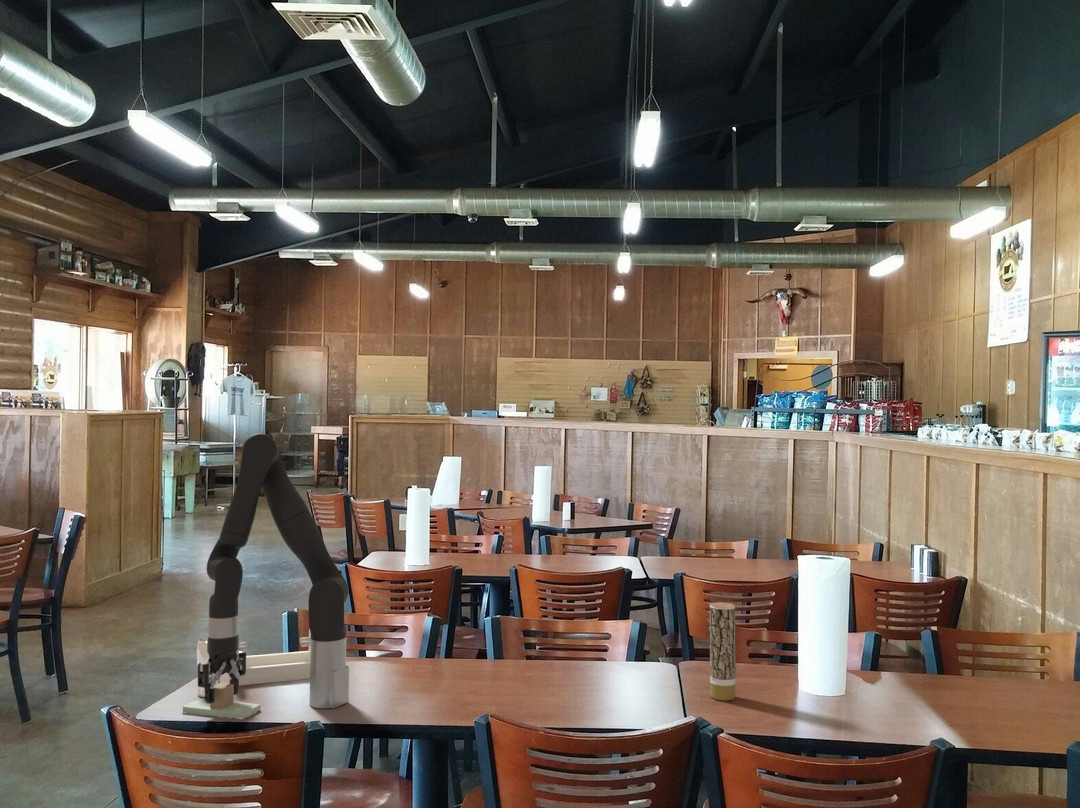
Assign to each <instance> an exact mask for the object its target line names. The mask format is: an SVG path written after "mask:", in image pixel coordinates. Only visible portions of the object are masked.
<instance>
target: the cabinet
mask: <svg viewBox="0 0 1080 808" xmlns="http://www.w3.org/2000/svg"><path fill="white" fill-rule="evenodd" d="M310 639H311V633H310V629H309V628H308V637H307V636H305V637H300V638H299V643H300V647H301V648H302V647H303V648H304V647H308V650H304V651H303V650H302V651H301V650H300V651H292V652H290V651H289V652H280V653H279V652H278V653H269V654H267V653H266V654H258V655H257V654H256V655H246V673H245V675H242V676H241V677H240V679H239V686H248V685H258V684H266V683H277V682H278V683H280V682H286V681H287V682H289V681H298V680H310ZM248 646H249V645H248V641H244V642H243V641H242V642H239V645H238V651H242V652H246V653H247V652H248V649H249V648H248ZM235 664H236V661H235ZM240 670H241V666H240ZM230 679H231V678H230ZM230 679H229V680H230Z"/></svg>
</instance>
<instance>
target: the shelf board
mask: <svg viewBox="0 0 1080 808" xmlns="http://www.w3.org/2000/svg"><path fill="white" fill-rule="evenodd" d="M234 697H235V695H234V684H230V683H228V682H227V683H223V682H220V683H219V684H217V685H215V686H214V703H211V704H210V703H206V701H205V697H199V698H198V699H196V700H193V701H192V702H190V703H187V704H186V705H183V706H182V713H183V712H186V713H185V714H188V713H195V714H194V715H197V714H202V715H201V716H205V715H212V716H211V717H214V716H220V717H219V718H223V717H229V718H228V719H232V718H239V719H238V720H241V719H240V718H242V719H244V718H246V717H248V716H250V715H252V714H253V713H255V714H257V713H258V712H257V711H259V710H260V711H261V704H259V703H252V702H251V703H249V702H241V701H235V699H234ZM260 711H259V712H260ZM256 712H257V713H256ZM252 716H253V715H252ZM250 717H251V716H250ZM248 718H249V717H248ZM246 719H247V718H246ZM244 720H245V719H244Z"/></svg>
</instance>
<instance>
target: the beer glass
mask: <svg viewBox="0 0 1080 808" xmlns="http://www.w3.org/2000/svg"><path fill="white" fill-rule="evenodd" d="M208 660H209V654H208V652H207V636H202V637H200V638H198V639H197V647H196V662H197V663H196V664H197V666H198V664H199V663H206V662H208ZM212 675H215V674H214V673H212ZM221 679H222V675H220V678H219V679H218V680H217V681H216V683H215V685H217V684H219V683H221ZM211 681H212V679H211ZM211 681H210V683H211ZM215 685H214V686H215ZM197 696H198V697H199V698H205V688H203V687H199V688H198V692H197Z"/></svg>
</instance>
